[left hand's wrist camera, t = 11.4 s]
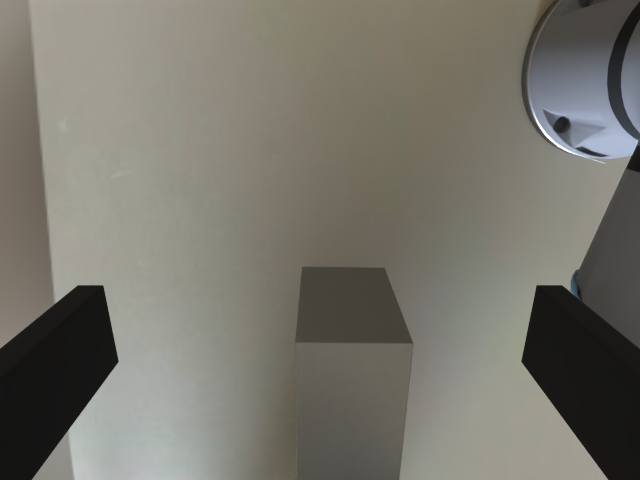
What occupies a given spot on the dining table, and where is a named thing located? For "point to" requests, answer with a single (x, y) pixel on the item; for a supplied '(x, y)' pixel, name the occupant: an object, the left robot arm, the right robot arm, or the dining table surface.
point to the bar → (350, 375)
